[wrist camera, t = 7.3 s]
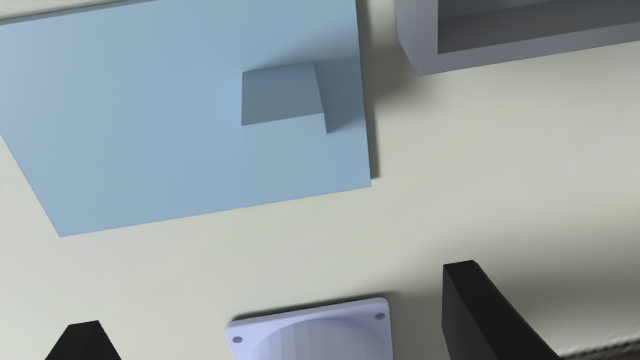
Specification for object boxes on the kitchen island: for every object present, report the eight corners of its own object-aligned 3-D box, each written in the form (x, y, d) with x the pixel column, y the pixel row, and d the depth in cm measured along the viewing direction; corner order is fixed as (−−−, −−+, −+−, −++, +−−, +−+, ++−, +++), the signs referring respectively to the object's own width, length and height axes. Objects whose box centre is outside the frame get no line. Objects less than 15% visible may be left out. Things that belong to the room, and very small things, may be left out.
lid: (366, 172, 23) (388, 246, 19) (66, 220, 23) (33, 304, 19) (347, -41, 18) (372, 9, 14) (-43, 22, 18) (-116, 87, 14)
